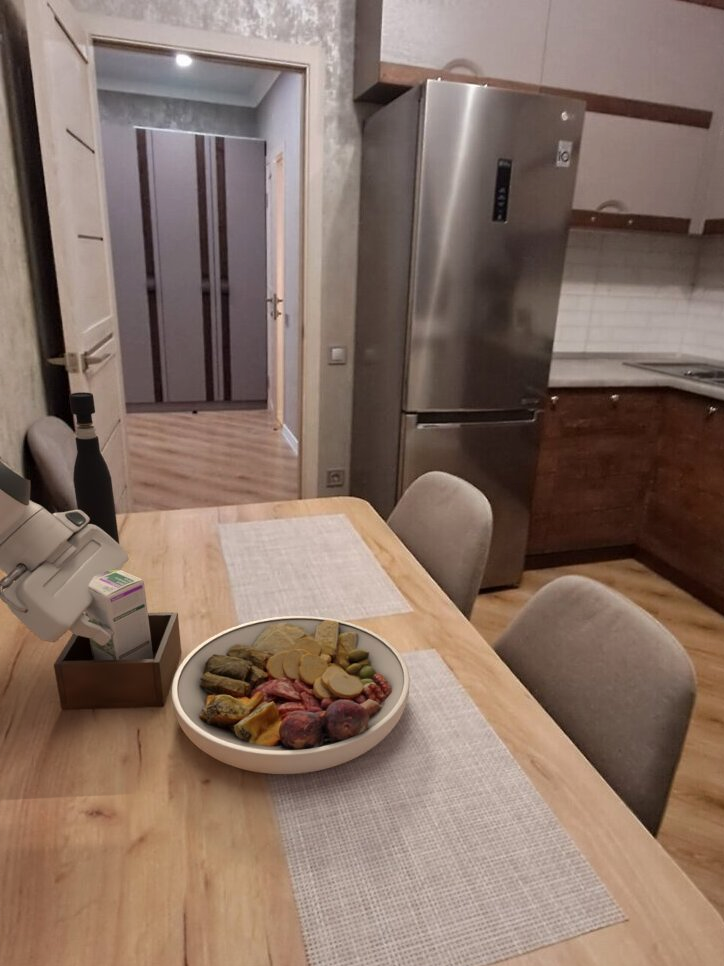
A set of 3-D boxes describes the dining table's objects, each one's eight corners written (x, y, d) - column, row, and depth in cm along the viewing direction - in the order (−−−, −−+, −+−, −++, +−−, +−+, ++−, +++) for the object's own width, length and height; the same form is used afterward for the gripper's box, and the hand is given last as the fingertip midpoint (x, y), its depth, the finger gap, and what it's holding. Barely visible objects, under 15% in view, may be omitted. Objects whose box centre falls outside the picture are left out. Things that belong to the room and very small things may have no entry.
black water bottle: (89, 559, 125) (66, 399, 113) (79, 547, 129) (56, 392, 117) (124, 551, 128) (105, 396, 117) (113, 540, 133) (94, 389, 121)
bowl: (138, 690, 89) (132, 639, 86) (324, 624, 107) (325, 580, 104) (245, 833, 68) (242, 773, 65) (454, 721, 87) (460, 670, 83)
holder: (61, 709, 85) (53, 664, 82) (91, 654, 96) (85, 613, 94) (164, 706, 86) (159, 662, 84) (181, 652, 98) (177, 612, 95)
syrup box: (156, 671, 92) (146, 577, 86) (119, 692, 87) (106, 594, 82) (130, 657, 95) (118, 565, 89) (92, 677, 90) (78, 581, 84)
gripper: (6, 571, 73) (106, 651, 77) (86, 505, 92) (163, 571, 96) (-27, 605, 75) (73, 681, 79) (58, 533, 94) (136, 597, 98)
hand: (123, 620), depth 88 cm, fingers open, 8 cm apart
